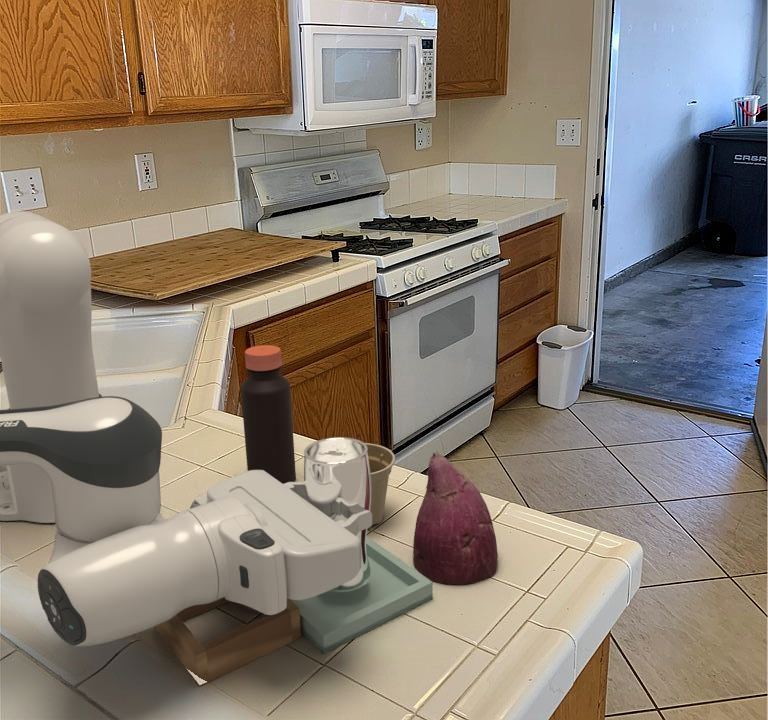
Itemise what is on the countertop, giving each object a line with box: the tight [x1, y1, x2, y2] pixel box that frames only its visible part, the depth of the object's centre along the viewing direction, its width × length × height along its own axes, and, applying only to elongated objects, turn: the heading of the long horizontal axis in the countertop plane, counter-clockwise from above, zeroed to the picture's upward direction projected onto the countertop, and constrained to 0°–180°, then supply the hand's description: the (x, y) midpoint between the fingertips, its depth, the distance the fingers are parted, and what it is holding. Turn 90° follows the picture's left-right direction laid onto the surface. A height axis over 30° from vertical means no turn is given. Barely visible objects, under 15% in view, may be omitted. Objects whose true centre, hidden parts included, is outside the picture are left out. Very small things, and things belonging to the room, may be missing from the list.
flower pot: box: [364, 442, 396, 529], centre depth 97 cm, size 9×9×9 cm
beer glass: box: [303, 436, 371, 592], centre depth 80 cm, size 7×7×15 cm
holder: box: [154, 597, 302, 683], centre depth 77 cm, size 11×11×4 cm
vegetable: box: [412, 449, 499, 586], centre depth 87 cm, size 10×10×15 cm
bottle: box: [240, 344, 297, 484], centre depth 105 cm, size 7×7×20 cm
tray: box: [290, 535, 434, 655], centre depth 83 cm, size 14×14×2 cm
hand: (345, 500), depth 80 cm, fingers closed on beer glass, 7 cm apart
